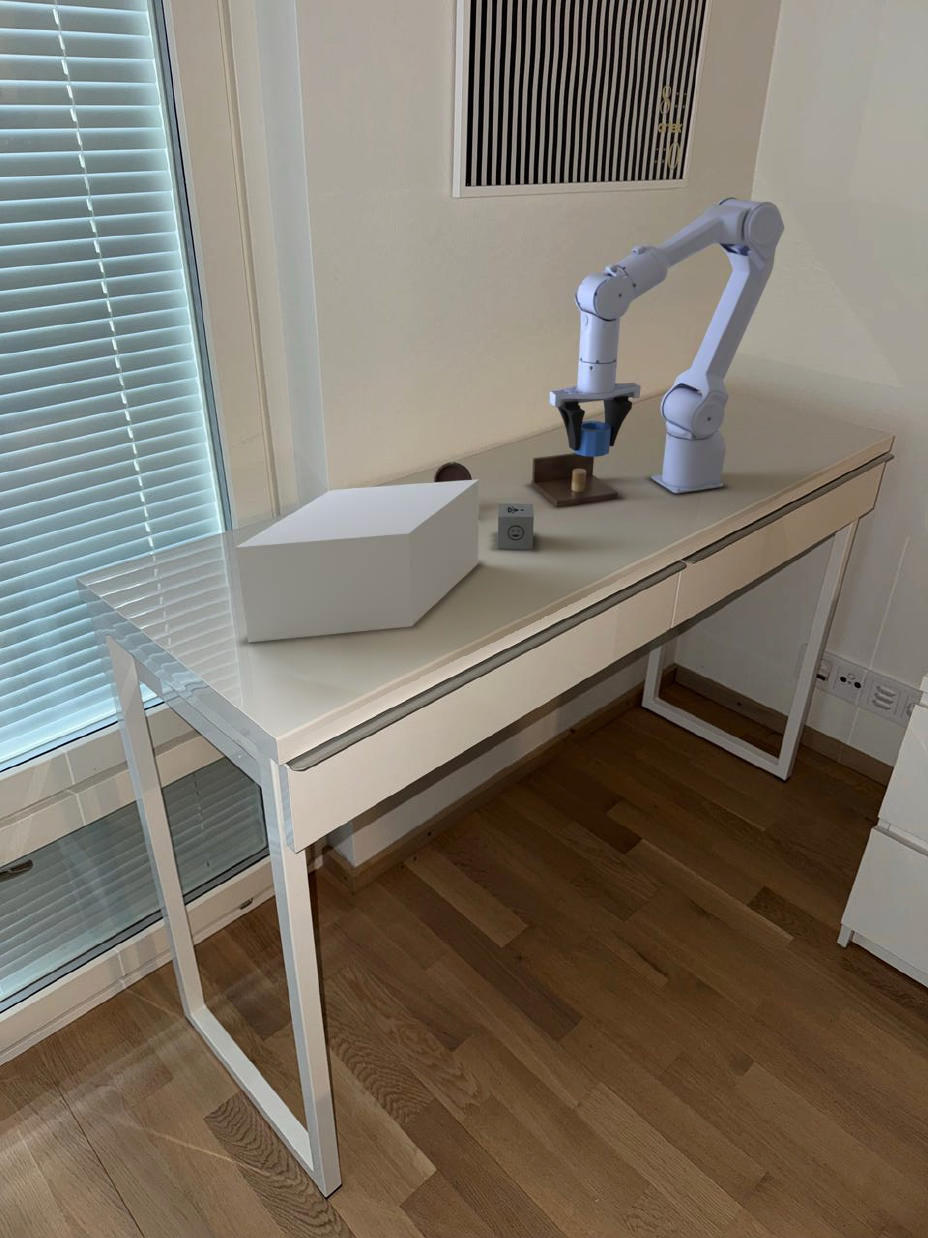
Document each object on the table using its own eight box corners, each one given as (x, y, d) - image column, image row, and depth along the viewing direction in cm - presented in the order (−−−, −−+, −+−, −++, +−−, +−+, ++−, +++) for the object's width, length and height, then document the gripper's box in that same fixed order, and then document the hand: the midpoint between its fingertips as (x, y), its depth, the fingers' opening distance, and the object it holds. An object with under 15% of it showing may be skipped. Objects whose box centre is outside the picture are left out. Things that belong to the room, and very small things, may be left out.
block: (519, 586, 121) (522, 498, 115) (283, 673, 102) (272, 574, 96) (440, 542, 133) (439, 461, 127) (216, 614, 114) (203, 522, 108)
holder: (589, 477, 156) (591, 449, 154) (617, 498, 148) (620, 468, 146) (531, 485, 153) (532, 457, 151) (556, 507, 145) (558, 477, 142)
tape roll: (598, 443, 147) (600, 419, 145) (615, 454, 142) (617, 429, 140) (567, 447, 145) (568, 422, 143) (583, 458, 141) (584, 433, 139)
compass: (419, 520, 140) (418, 475, 137) (437, 502, 147) (436, 458, 143) (469, 526, 138) (469, 481, 134) (484, 507, 144) (485, 464, 141)
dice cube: (497, 534, 135) (498, 503, 133) (531, 535, 135) (532, 503, 133) (497, 548, 131) (498, 516, 129) (532, 549, 131) (533, 517, 128)
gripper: (627, 349, 142) (620, 434, 149) (542, 357, 138) (539, 443, 145) (650, 359, 137) (641, 447, 143) (563, 368, 132) (558, 457, 139)
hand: (591, 446), depth 144 cm, fingers closed on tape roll, 5 cm apart
